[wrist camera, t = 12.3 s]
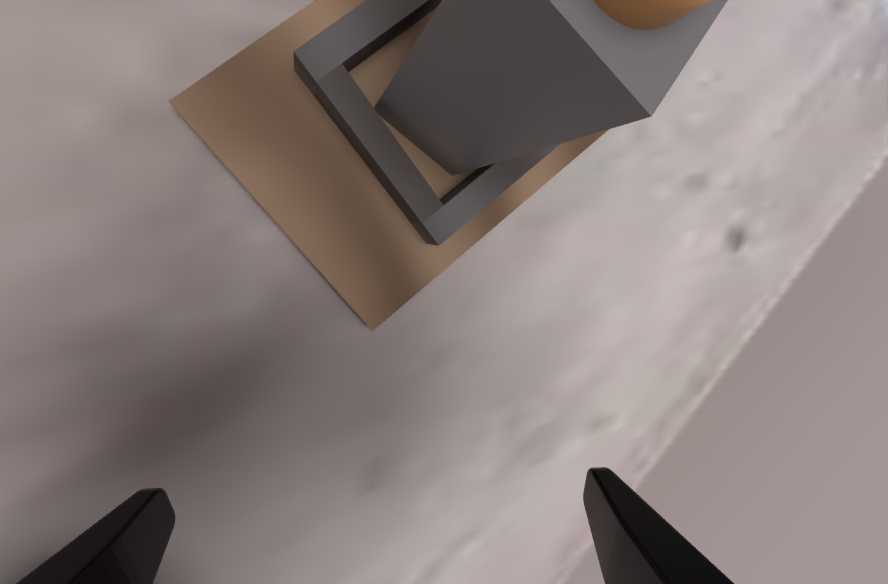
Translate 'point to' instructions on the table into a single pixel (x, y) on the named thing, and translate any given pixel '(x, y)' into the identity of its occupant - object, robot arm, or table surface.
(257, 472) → the table surface
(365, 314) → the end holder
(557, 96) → the connector plug
